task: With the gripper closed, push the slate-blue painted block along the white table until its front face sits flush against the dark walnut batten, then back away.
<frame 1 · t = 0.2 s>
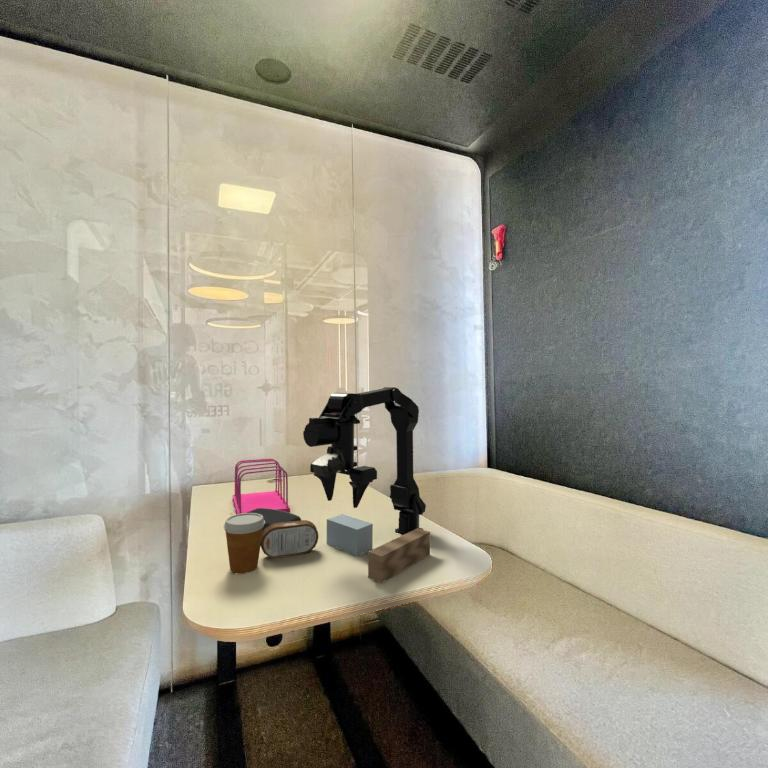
hand: (342, 503, 100), 14 cm above the table, fingers open, 9 cm apart
tin: (289, 555, 104), on the table
batten: (401, 565, 98), on the table
disposable coffee cup: (244, 568, 96), on the table
block: (349, 546, 110), on the table
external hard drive: (267, 528, 124), on the table
file sorter: (259, 506, 146), on the table
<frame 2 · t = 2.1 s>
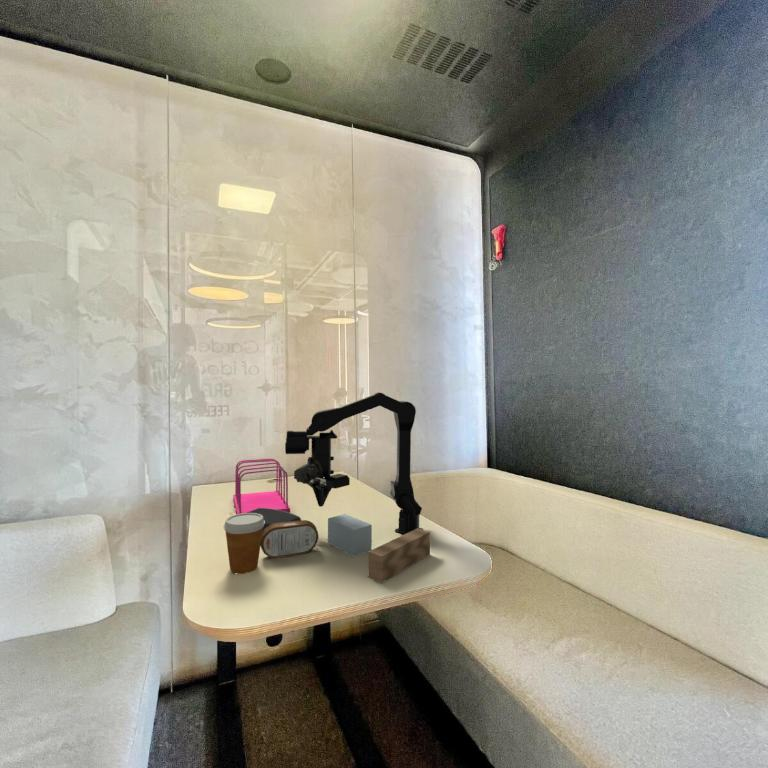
hand: (320, 506, 117), 9 cm above the table, fingers closed
nothing on the table moved.
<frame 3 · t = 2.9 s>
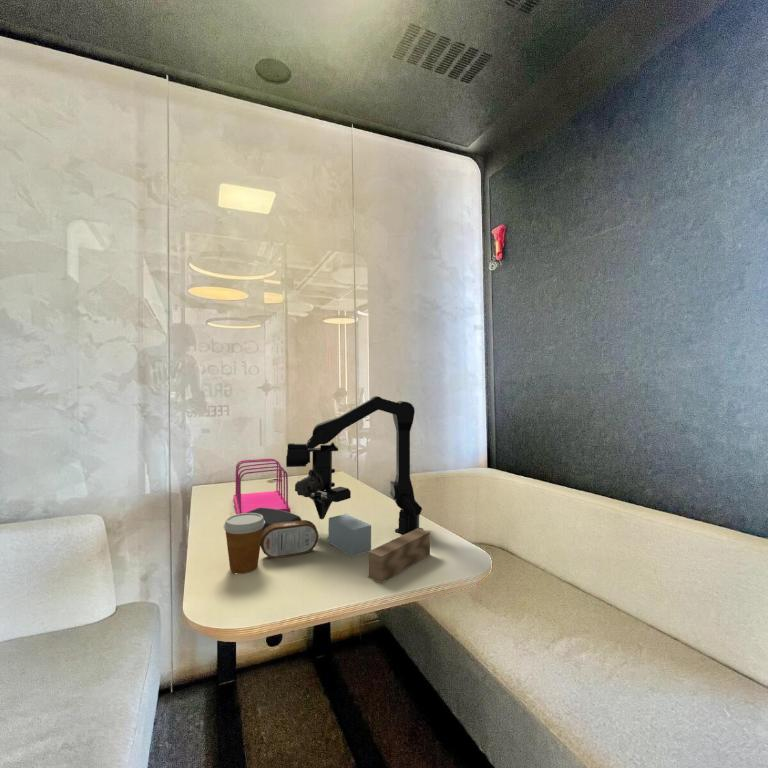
hand: (321, 518, 117), 5 cm above the table, fingers closed
nothing on the table moved.
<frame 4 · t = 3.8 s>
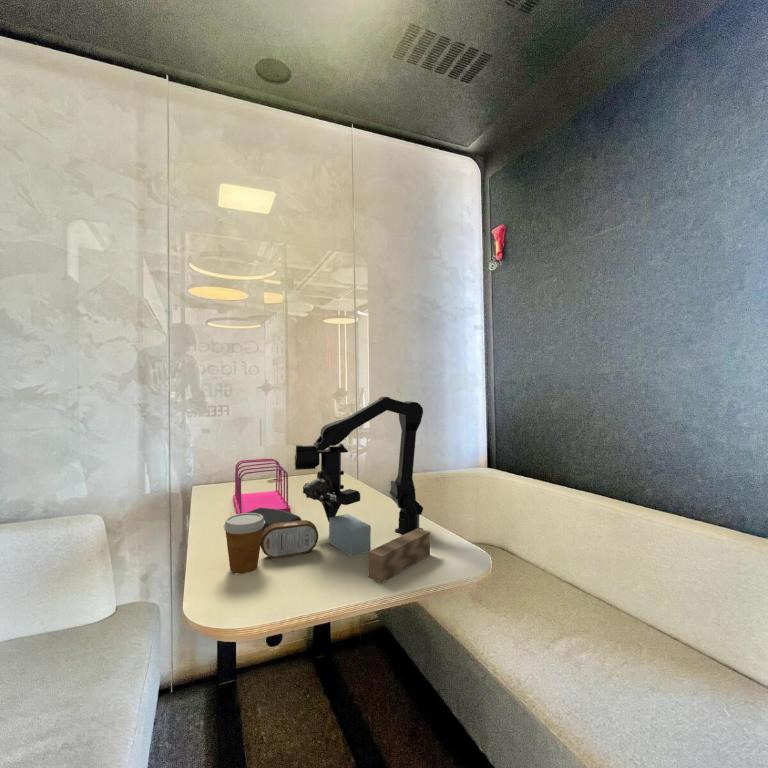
hand: (330, 521, 115), 5 cm above the table, fingers closed
block: (349, 546, 110), on the table, touching gripper
everything else where it was.
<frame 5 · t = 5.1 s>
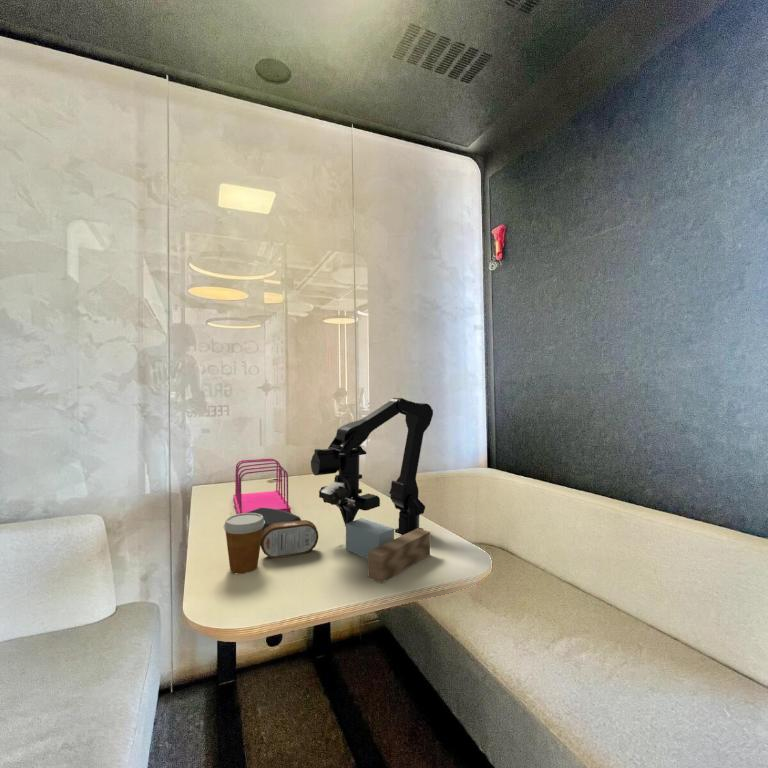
hand: (348, 527, 110), 5 cm above the table, fingers closed
block: (369, 552, 106), on the table, touching gripper
everything else where it was.
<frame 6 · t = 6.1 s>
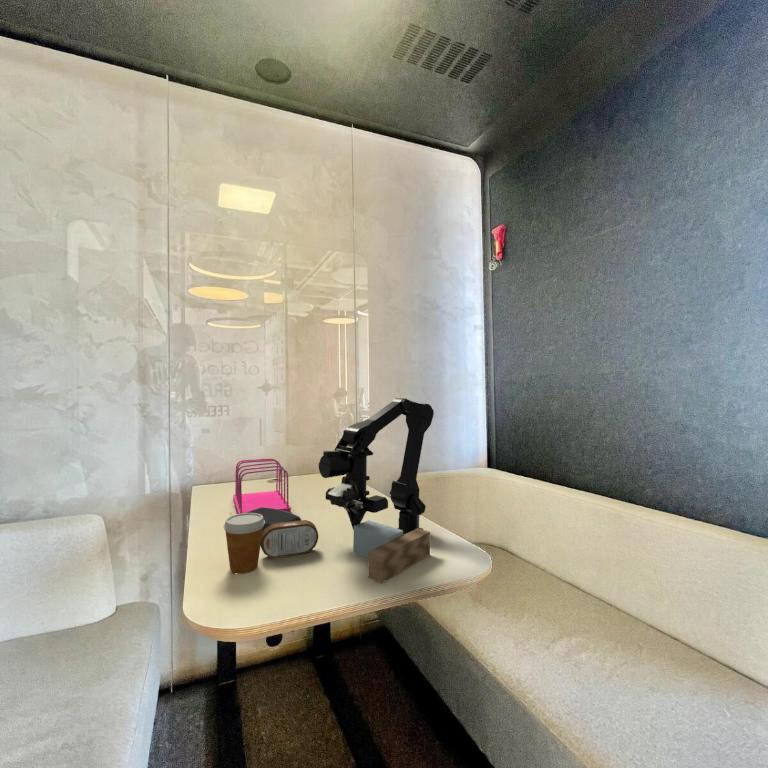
hand: (355, 530, 108), 5 cm above the table, fingers closed
block: (377, 554, 104), on the table, touching gripper
everything else where it was.
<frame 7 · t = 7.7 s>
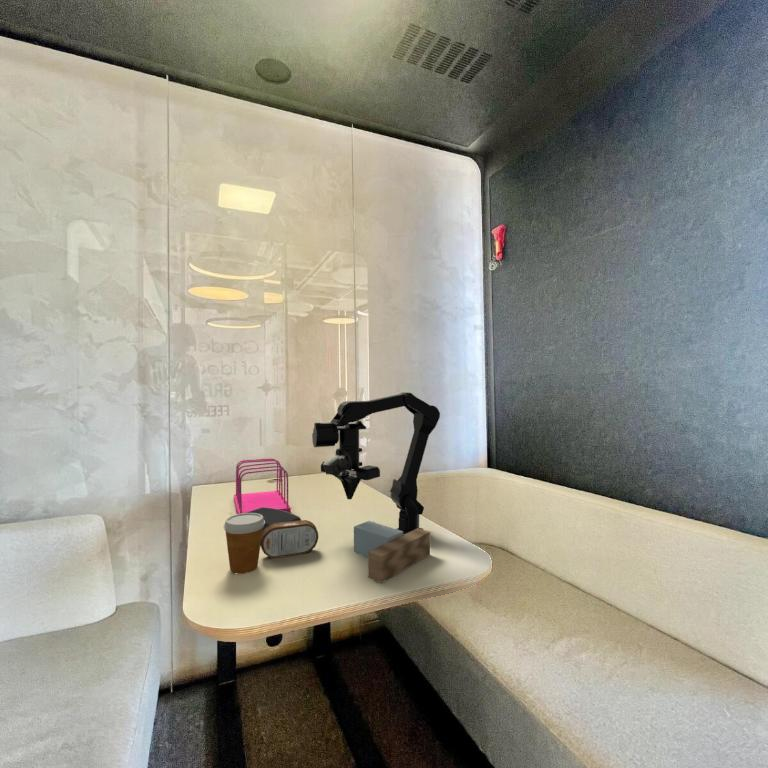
hand: (349, 499, 114), 12 cm above the table, fingers closed
block: (377, 555, 104), on the table
everything else where it was.
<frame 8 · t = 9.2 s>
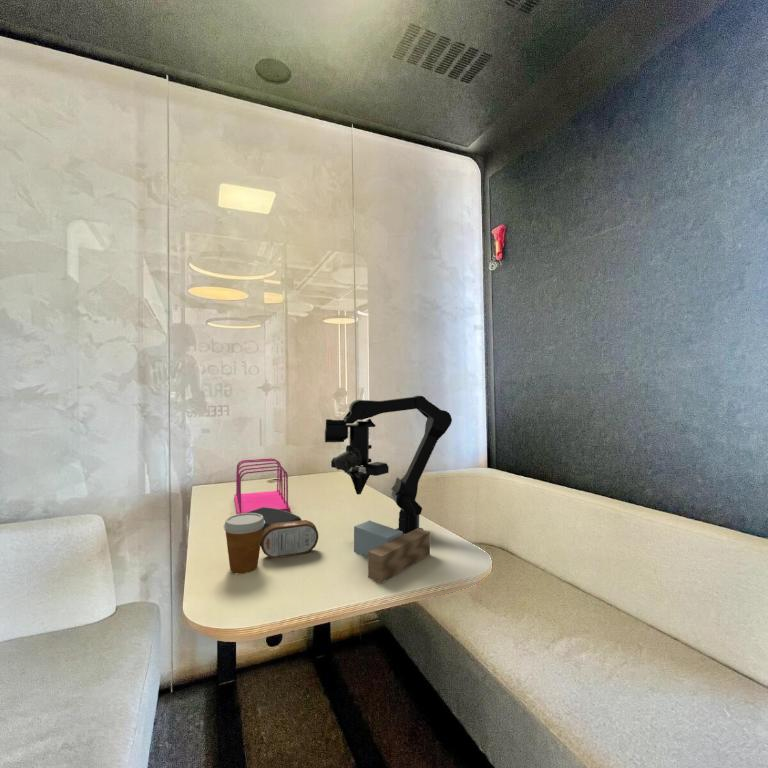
hand: (358, 494, 118), 12 cm above the table, fingers closed
nothing on the table moved.
at the end: block 0.9 cm from the target spot on the table beside the batten, on the table; block tilted 0° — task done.
